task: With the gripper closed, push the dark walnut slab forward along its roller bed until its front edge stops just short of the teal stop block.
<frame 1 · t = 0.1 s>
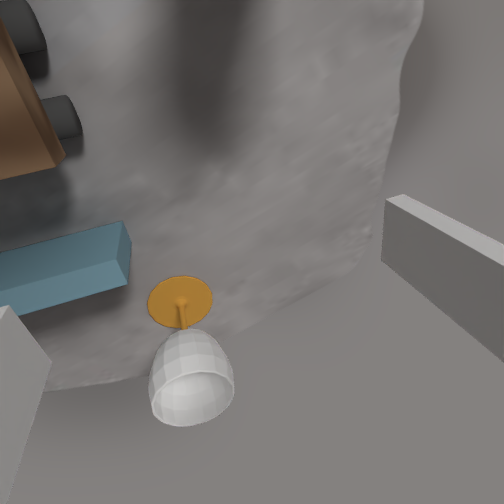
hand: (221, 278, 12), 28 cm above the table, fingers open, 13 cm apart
cup: (180, 301, 46), on the table
stop block: (57, 250, 37), on the table
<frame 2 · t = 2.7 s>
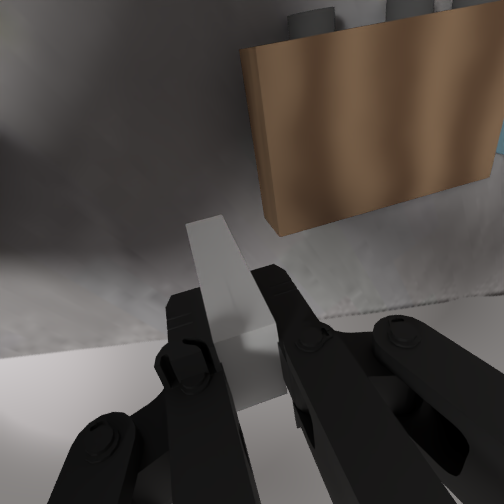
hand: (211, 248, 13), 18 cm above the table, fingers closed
roller mid: (415, 104, 29), point 3 cm above the table, tilted 175°
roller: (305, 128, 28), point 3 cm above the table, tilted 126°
slab: (380, 121, 25), point 6 cm above the table, slide at 0.0 cm
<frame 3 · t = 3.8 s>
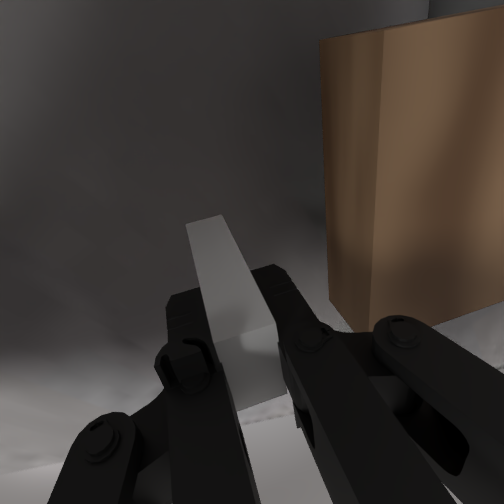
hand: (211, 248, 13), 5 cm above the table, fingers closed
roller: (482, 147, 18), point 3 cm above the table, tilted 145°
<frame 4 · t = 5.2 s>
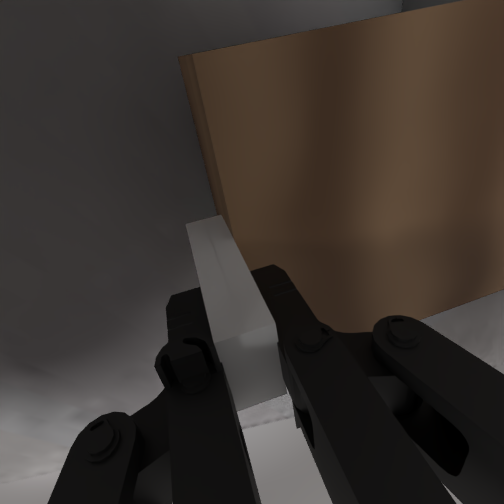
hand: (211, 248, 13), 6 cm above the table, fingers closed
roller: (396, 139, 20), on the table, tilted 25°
slab: (437, 177, 15), point 6 cm above the table, slide at 0.8 cm, touching gripper
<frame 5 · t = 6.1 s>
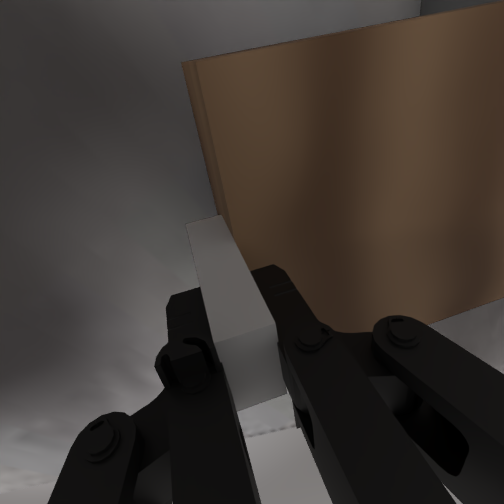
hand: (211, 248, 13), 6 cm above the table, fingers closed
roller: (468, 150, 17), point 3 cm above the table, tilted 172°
slab: (440, 184, 15), point 6 cm above the table, slide at 4.6 cm, touching gripper
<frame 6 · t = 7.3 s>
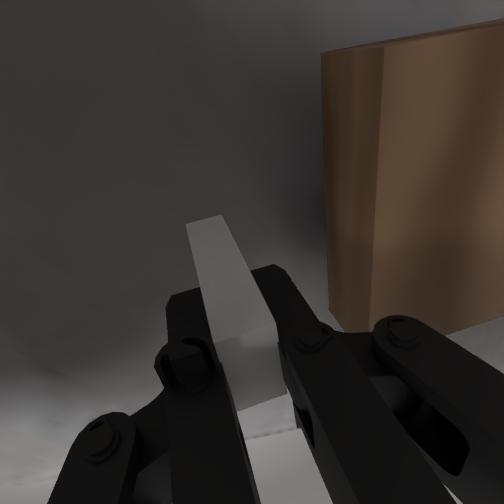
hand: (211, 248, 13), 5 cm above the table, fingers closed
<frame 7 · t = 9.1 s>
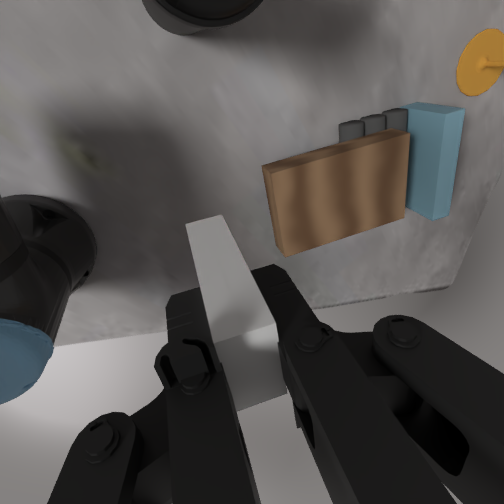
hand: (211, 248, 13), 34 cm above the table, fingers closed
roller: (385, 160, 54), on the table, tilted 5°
roller mid: (365, 173, 51), point 2 cm above the table, tilted 109°
cup: (480, 63, 50), on the table
stop block: (405, 155, 54), on the table
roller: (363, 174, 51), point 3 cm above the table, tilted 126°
slab: (337, 193, 47), point 6 cm above the table, slide at 4.7 cm
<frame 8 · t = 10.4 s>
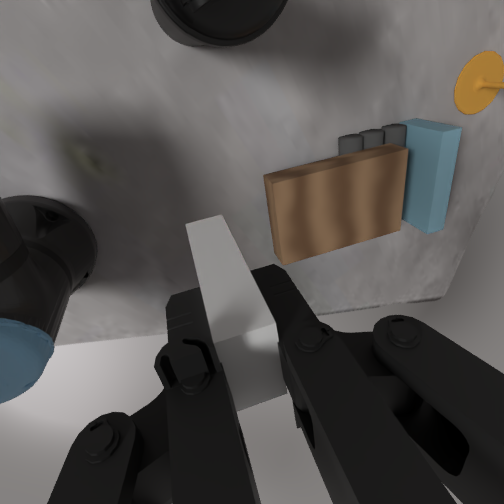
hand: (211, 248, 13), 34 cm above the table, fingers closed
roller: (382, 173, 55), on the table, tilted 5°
roller mid: (361, 185, 53), point 2 cm above the table, tilted 102°
cup: (477, 83, 52), on the table
stop block: (403, 169, 56), on the table
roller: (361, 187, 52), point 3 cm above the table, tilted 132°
water bottle: (188, 2, 37), on the table
slab: (336, 204, 48), point 6 cm above the table, slide at 4.7 cm
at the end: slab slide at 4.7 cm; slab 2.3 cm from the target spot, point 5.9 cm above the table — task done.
